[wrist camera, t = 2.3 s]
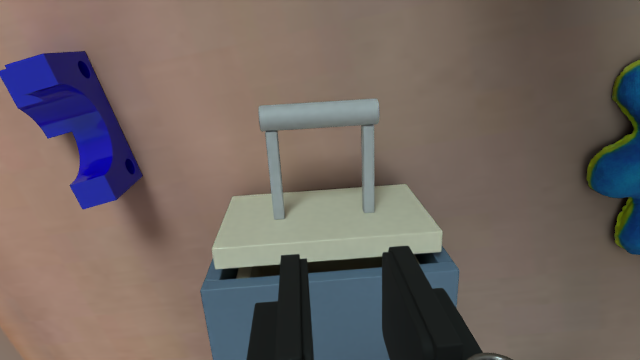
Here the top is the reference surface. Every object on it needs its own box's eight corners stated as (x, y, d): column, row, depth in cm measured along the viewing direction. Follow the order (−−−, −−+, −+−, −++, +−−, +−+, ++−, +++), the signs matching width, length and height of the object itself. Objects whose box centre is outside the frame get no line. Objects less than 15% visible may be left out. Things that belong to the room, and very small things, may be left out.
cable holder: (28, 68, 23) (-25, 73, 19) (84, 51, 23) (43, 53, 19) (92, 190, 26) (57, 216, 22) (142, 176, 25) (116, 199, 22)
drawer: (218, 98, 23) (189, 120, 17) (408, 86, 24) (451, 104, 17) (254, 359, 30) (244, 446, 23) (402, 346, 30) (430, 428, 24)
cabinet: (228, 214, 27) (199, 290, 19) (410, 201, 27) (459, 269, 19) (252, 378, 32) (237, 494, 24) (405, 364, 32) (443, 473, 24)
